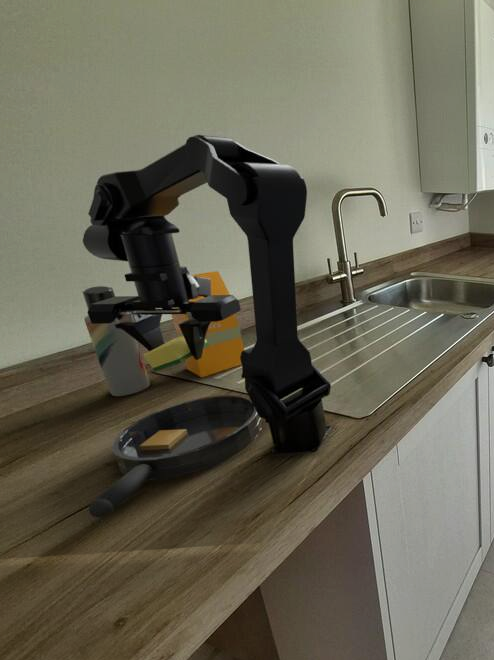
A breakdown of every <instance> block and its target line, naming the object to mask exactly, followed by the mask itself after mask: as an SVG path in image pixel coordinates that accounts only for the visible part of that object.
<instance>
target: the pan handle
mask: <svg viewBox="0 0 494 660" xmlns="http://www.w3.org/2000/svg"><path fill="white" fill-rule="evenodd" d="M152 474H153V469H152V467H151V466H149V465H147V464H141V465H138V466H136V467H134V468H133V469H132V470H131V471H129V472H128V473H127V474H126V475H124V474H123V476H122V477H121V478H119V479H118V480H117V481H116V482H115V483H113V484H112V485H111V486H109V488H107V489H106V490H105V491H104V492H102V493H101V494H100V495H99V496H97V497H96V498H95V499H94V500H93V501H91V503H90V504H89V507H88V513H89V514H90V516H92V517H94V518H103V517H106V516H108V515H110V514H111V513H112V512H113V511H114V510H116V509H117V508H118V507H119V506H120V505H122V503H124V502H125V501H126V500H127V499H128V498H129V497H130V496H132V495H133V494H134V493H135V492H136V491H137V490H138V489H140V487H141V486H143V485H144V484H145V483H146V482H147V481H148V479H149V478H150V477H151V476H152Z"/></svg>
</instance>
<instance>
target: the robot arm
mask: <svg viewBox="0 0 494 660" xmlns="http://www.w3.org/2000/svg"><path fill="white" fill-rule="evenodd" d="M205 184H207V186H208V187H209V188H210V189H212V190H213V191H215V192H216V193H218V194H219V195H220V196H222V197H224V198H225V199H226V202H227V206H228V211H229V214H230V217H231V218H232V220H234V221H235V223H236V224H237V226H238V227H239V228H240V229H241V231H242V232H243V233H244V234H245V236H246V239H247V245H248V256H249V269H250V278H251V279H250V280H251V289H252V290H251V291H252V301H253V312H254V313H253V315H254V322H255V323H254V324H255V334H256V342H255V344H254V346H252V347H250V348H247V349H244V351H242V352H241V356H240V360H241V368H242V371H241V372H242V373H241V376H240V377H241V379H244V388H245V391H246V393H247V396H248V397H249V398H250V399H251V401H252V403H253V405H254V407H255V409H256V411H257V413H258V415H259V417H260V418H261V419H264V420H265V424H268V426H269V432H270V436H271V440H272V444H273V445H275V446H274V447H273V448H272V450H271V454H272V455H274V454H275V455H277V454H278V455H279V454H299V453H315V452H317V451H319V449H320V447H321V446H322V444H323V443H324V441H325V439H326V438H327V436H328V434H329V432H330V431H331V429H332V425H327V422H326V416H325V409H324V405H323V399H324V398H326V397H328V396H330V394H331V389H332V385H331V383H330V382H329V380H328V379H327V378H326V377H325V376H324V375H323V374H322V372H320V371H319V370H318V368H316V366H315V365H314V364H313V361H312V356H311V352H310V350H309V349H308V348H307V347H306V346H305V344H304V343H303V342H302V341H301V340H300V338H299V336H298V335H299V334H298V316H297V315H298V314H297V294H296V273H295V271H296V270H295V253H294V251H295V250H294V238H295V236H296V234H297V233H298V230H299V228H300V227H301V224H302V223H303V221H304V219H305V218H306V217H305V216H306V207H307V199H308V198H307V197H308V189H307V183H306V181H305V178H303V177H302V176H301V174H300V173H299V172H298V170H296V169H295V168H294V167H293V166H291V165H289V164H287V163H285V164H284V163H280V162H278V161H277V160H275V159H273V158H271V157H268V156H265V155H263V154H261V153H258V152H256V151H254V150H252V149H249V148H247V147H245V146H244V145H243V144H241V143H240V142H238V141H236V140H234V139H232V138H229V137H226V136H225V137H224V136H217V135H216V136H215V135H206V134H196V135H194V136H189V137H188V138H187V139H186V142H185V143H184V144H182V145H181V146H179V147H177V148H176V149H174V150H172V151H170V152H168V153H167V154H165V155H163V156H162V157H160V158H158V159H156V160H155V161H153V162H151V163H150V164H148V165H147V166H144V167H142V168H141V169H135V170H126V171H115V172H111V173H105V174H103V175H101V176H100V177H99V178H98V180H97V181H96V185H95V187H94V192H93V198H92V200H91V201H92V202H91V205H90V207H89V211H88V213H87V215H88V216H89V217H90V224H91V225H89V226H88V227H87V228H86V230H84V233H83V238H82V244H83V246H84V248H85V249H86V250H87V251H88V253H90V254H91V255H93V256H94V257H96V258H98V259H101V260H102V259H103V260H111V261H119V262H120V261H121V262H128V267H129V269H130V272H129V273H126V274H125V273H124V279H125V282H133V283H134V286H135V289H136V294H137V295H136V296H135V295H126V296H123V295H121V296H120V295H117V296H116V295H115V297H112V298H109V299H106V300H103V301H100V302H96V303H93V304H91V305H90V307H89V310H88V309H87V311H86V313H87V316H89V319H90V322H91V324H105V323H112V322H114V321H115V319H116V318H117V320H118V324H115V325H114V326H115V328H120V329H122V330H124V331H125V332H126V333H128V334H129V335H130V336H132V337H133V338H134V339H136V341H137V343H139V344H141V346H143V347H144V348H145V349H146V350H147V351H148V352H150V351H152V350H153V349H155V348H157V347H159V346H161V345H163V344H165V341H164V337H163V334H162V330H161V326H160V324H161V320H162V316H163V315H171V314H187V318H188V320H187V321H185V322H183V323H181V324H179V327H180V329H181V332H182V334H183V336H184V338H185V341H186V343H187V345H188V347H189V350H190V352H191V354H192V356H193V357H194V359H195V360H199V359H200V358H201V357H202V353H203V348H204V343H205V337H206V333H207V330H208V327H209V325H210V323H211V322H217V321H221V320H224V319H226V318H228V317H230V316H231V315H233V314H235V313H236V314H237V313H238V312H240V311H242V309H241V304H240V300H238V298H237V297H236V296H234V295H233V294H230V295H211V279H207V278H202V277H195V276H190V275H191V274H190V270H189V269H188V267H187V266H181V264H180V259H179V256H178V252H177V249H176V245H175V241H174V237H173V234H179V233H180V231H181V230H180V228H179V227H178V226H177V225H176V224H174V223H172V222H170V221H169V220H168V219H167V218H166V217H165V216H168V215H170V214H171V213H173V211H174V210H175V209H176V208H177V207H179V205H180V201H179V198H180V197H181V196H183V195H185V194H187V193H189V192H191V191H194V190H195V189H197V188H199V187H201V186H204V185H205ZM201 296H203V297H205V298H203V299H201V300H198V301H196V302H189V300H190V299H196V298H198V297H201ZM172 307H173V308H177V307H178V308H177V309H172Z"/></svg>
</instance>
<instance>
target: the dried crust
mask: <svg viewBox="0 0 494 660" xmlns="http://www.w3.org/2000/svg"><path fill="white" fill-rule="evenodd" d="M187 434H188V432H187V429H180V430H159V431H158V432H157V433H155V434H154V435H153V436H152V437H150V438H149V439H148V440H146V441H145V442H144V443H142V444H141V445H140V446H139V447H140V450H161V449H170V448H171V447H172V446H174V445H175V444H176V443H177V442H178V441H179V440H181V439H182V438H183V437H184V436H185V435H187Z"/></svg>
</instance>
